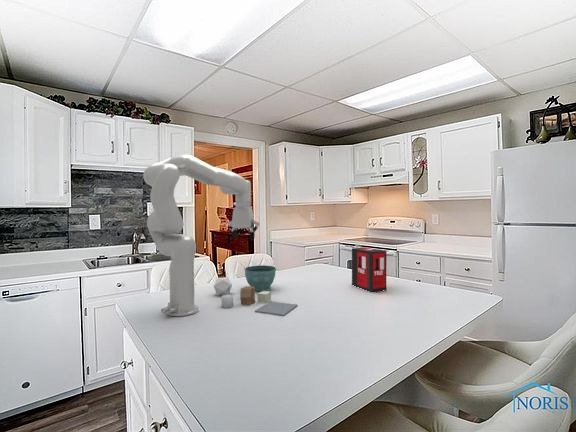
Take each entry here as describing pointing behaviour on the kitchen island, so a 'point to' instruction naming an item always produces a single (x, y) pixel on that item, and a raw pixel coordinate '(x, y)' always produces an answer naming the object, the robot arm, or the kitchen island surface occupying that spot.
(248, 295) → the walnut block
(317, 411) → the kitchen island surface
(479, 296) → the kitchen island surface
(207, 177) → the robot arm
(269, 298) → the sage block
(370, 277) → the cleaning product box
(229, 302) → the grey rounded piece
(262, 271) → the flower pot
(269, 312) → the slate mat
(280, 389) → the kitchen island surface
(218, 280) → the die
